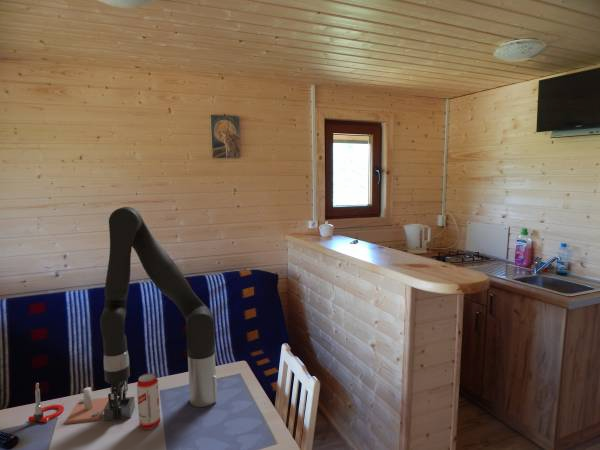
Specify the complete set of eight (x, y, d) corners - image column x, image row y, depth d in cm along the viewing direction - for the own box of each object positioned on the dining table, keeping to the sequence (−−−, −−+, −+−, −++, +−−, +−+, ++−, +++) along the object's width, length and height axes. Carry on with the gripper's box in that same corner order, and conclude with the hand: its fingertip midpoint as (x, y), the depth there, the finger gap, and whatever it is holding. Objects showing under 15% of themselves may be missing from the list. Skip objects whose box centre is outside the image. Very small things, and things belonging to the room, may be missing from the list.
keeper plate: (109, 399, 138) (108, 378, 137) (99, 420, 126) (97, 397, 125) (79, 403, 136) (77, 381, 135) (65, 423, 125) (63, 400, 124)
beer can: (155, 416, 128) (152, 370, 126) (163, 424, 124) (161, 377, 122) (136, 424, 124) (133, 377, 122) (144, 433, 119) (141, 384, 117)
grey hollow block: (134, 407, 133) (134, 396, 133) (130, 418, 127) (129, 406, 127) (110, 410, 132) (109, 399, 131) (104, 421, 126) (103, 409, 125)
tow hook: (48, 406, 135) (25, 421, 126) (46, 371, 134) (23, 383, 125) (69, 408, 134) (48, 424, 125) (68, 372, 133) (46, 385, 124)
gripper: (123, 374, 121) (126, 424, 123) (133, 354, 135) (136, 399, 137) (97, 377, 120) (101, 427, 122) (111, 356, 134) (114, 402, 136)
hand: (120, 412), depth 129 cm, fingers closed on grey hollow block, 6 cm apart
